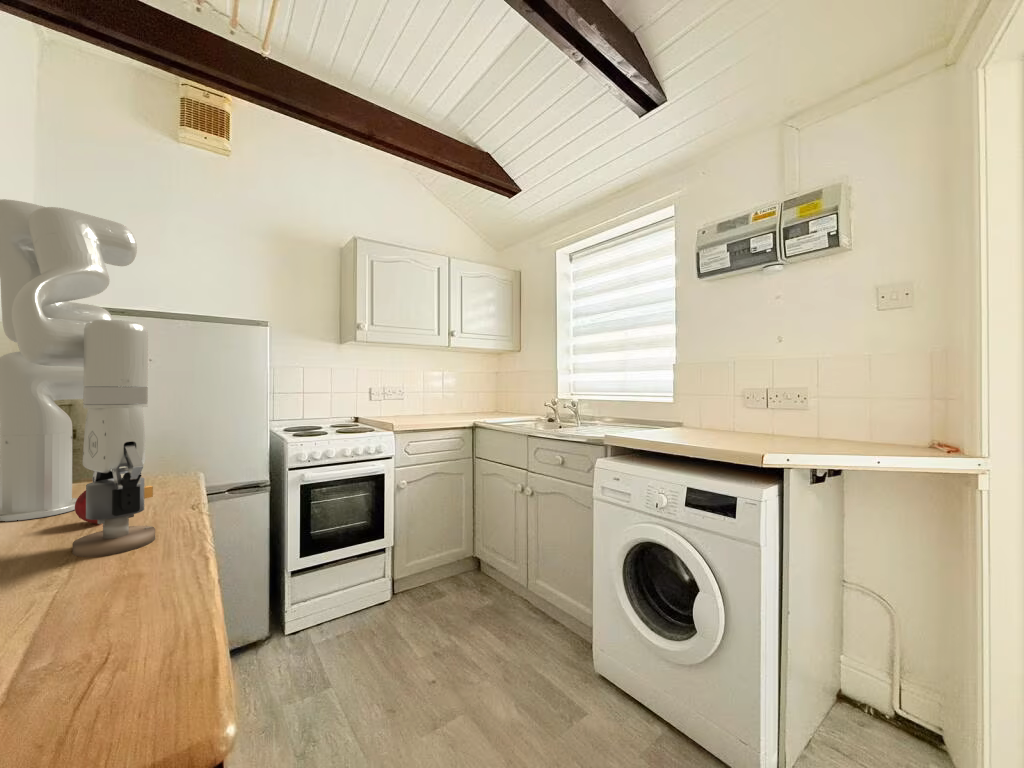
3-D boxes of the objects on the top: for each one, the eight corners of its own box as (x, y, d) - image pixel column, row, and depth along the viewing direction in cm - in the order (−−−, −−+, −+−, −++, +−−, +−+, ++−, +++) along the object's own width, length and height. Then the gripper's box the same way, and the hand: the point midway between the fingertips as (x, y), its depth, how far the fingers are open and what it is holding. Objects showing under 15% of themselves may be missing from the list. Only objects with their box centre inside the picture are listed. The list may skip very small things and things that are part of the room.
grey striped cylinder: (79, 515, 66) (79, 482, 66) (143, 503, 73) (143, 473, 73) (94, 522, 63) (95, 487, 63) (160, 509, 70) (160, 477, 70)
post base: (63, 549, 66) (63, 516, 66) (141, 530, 74) (141, 502, 74) (84, 562, 61) (84, 527, 61) (165, 541, 69) (165, 510, 69)
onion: (91, 531, 74) (91, 485, 74) (65, 528, 75) (66, 483, 75) (127, 520, 80) (127, 478, 80) (103, 518, 81) (103, 476, 81)
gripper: (64, 398, 69) (63, 508, 69) (107, 400, 60) (106, 525, 60) (124, 397, 75) (123, 497, 75) (170, 398, 67) (170, 512, 67)
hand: (116, 509), depth 68 cm, fingers closed on grey striped cylinder, 6 cm apart
